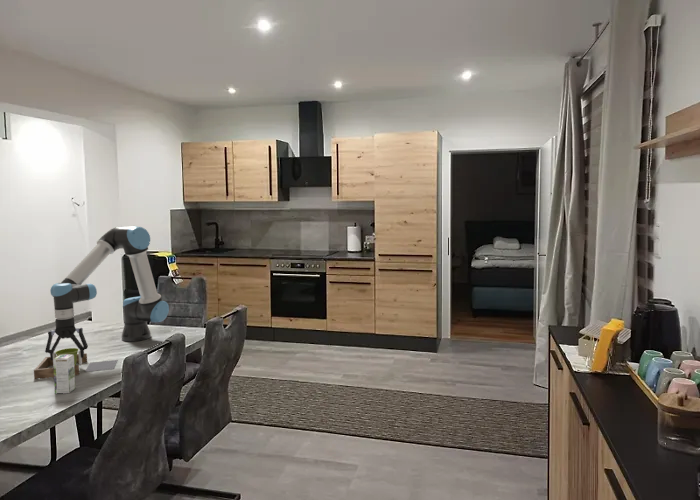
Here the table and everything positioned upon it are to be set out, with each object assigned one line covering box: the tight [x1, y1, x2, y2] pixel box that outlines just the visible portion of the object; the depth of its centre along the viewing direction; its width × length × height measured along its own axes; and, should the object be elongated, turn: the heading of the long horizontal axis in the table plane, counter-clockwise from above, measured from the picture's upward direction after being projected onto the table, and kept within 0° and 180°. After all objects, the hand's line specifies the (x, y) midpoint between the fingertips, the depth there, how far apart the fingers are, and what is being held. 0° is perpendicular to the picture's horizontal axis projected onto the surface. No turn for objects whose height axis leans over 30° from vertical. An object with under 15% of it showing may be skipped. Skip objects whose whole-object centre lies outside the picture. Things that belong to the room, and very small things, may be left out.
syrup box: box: [52, 354, 76, 395], centre depth 210 cm, size 6×6×14 cm
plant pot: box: [54, 347, 79, 366], centre depth 238 cm, size 9×9×9 cm
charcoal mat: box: [84, 359, 118, 373], centre depth 243 cm, size 12×14×1 cm
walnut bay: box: [33, 352, 88, 380], centre depth 238 cm, size 17×20×4 cm
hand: (68, 365), depth 239 cm, fingers open, 10 cm apart
